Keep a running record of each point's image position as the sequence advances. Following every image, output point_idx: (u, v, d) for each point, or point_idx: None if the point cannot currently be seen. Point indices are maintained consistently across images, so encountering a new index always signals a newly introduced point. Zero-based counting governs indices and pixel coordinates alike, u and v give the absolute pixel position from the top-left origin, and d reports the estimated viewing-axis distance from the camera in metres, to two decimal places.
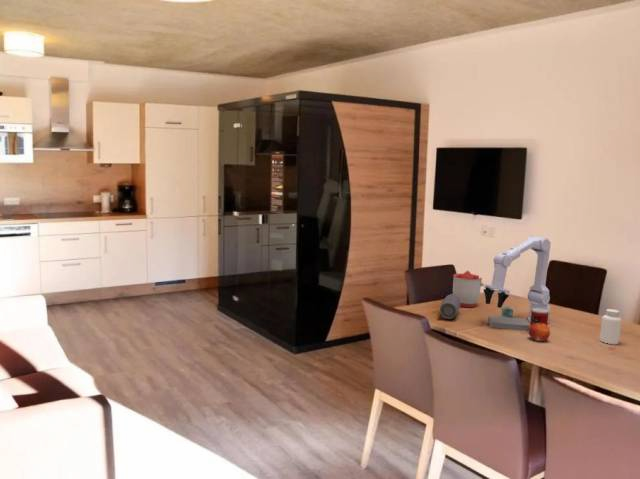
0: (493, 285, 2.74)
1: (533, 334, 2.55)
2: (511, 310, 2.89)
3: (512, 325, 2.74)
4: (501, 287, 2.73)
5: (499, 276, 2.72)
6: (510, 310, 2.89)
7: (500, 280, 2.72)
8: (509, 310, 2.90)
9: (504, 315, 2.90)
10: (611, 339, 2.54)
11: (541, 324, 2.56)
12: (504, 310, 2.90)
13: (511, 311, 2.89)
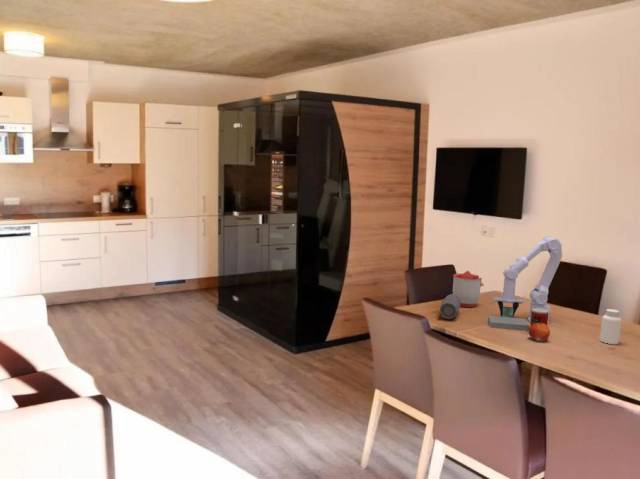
0: (509, 298, 2.89)
1: (533, 334, 2.55)
2: (511, 310, 2.89)
3: (512, 325, 2.74)
4: None
5: (506, 289, 2.89)
6: (510, 310, 2.89)
7: (514, 292, 2.89)
8: (509, 310, 2.90)
9: (504, 315, 2.90)
10: (611, 339, 2.54)
11: (541, 324, 2.56)
12: (504, 310, 2.90)
13: (511, 311, 2.89)
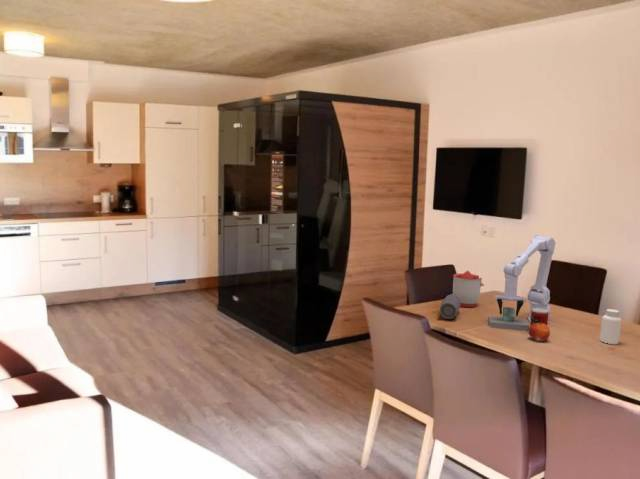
0: (511, 296, 2.76)
1: (533, 334, 2.55)
2: (513, 311, 2.77)
3: (512, 325, 2.74)
4: (516, 296, 2.78)
5: (511, 286, 2.75)
6: (512, 311, 2.77)
7: (516, 290, 2.76)
8: (511, 311, 2.77)
9: (505, 316, 2.78)
10: (611, 339, 2.54)
11: (541, 324, 2.56)
12: (505, 311, 2.78)
13: (513, 312, 2.77)
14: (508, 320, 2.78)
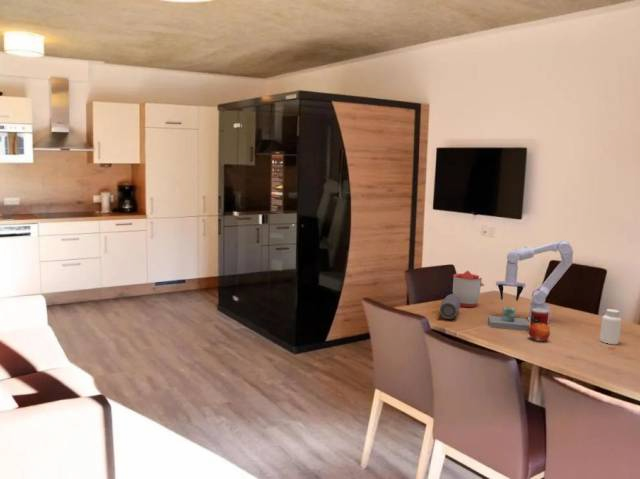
0: (511, 282, 2.91)
1: (533, 334, 2.55)
2: (513, 311, 2.77)
3: (512, 325, 2.74)
4: None
5: (507, 272, 2.92)
6: (512, 311, 2.77)
7: (516, 276, 2.92)
8: (511, 311, 2.77)
9: (505, 316, 2.78)
10: (611, 339, 2.54)
11: (541, 324, 2.56)
12: (505, 311, 2.78)
13: (513, 312, 2.77)
14: (508, 320, 2.78)
